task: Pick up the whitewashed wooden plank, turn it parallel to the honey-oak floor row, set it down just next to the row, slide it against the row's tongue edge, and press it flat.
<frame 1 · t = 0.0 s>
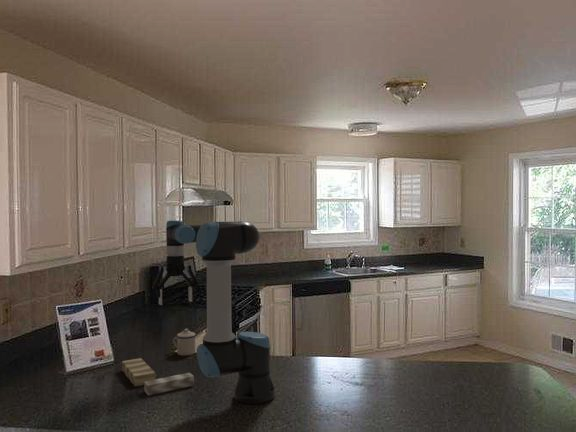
hand: (175, 302, 205), 28 cm above the worktop, tool pointing down, fingers open, 13 cm apart
plank: (169, 389, 179), on the worktop
teacup with lid: (183, 353, 225), on the worktop
oak floor row: (138, 376, 193), on the worktop
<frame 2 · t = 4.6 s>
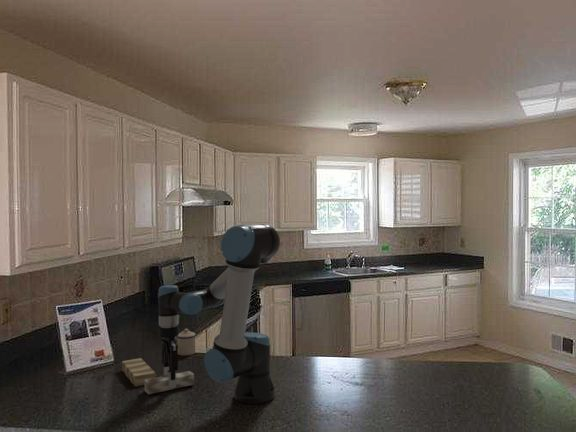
hand: (170, 385, 179), 1 cm above the worktop, tool pointing down, fingers closed on plank, 5 cm apart
plank: (169, 387, 179), on the worktop, touching gripper
everything else where it was.
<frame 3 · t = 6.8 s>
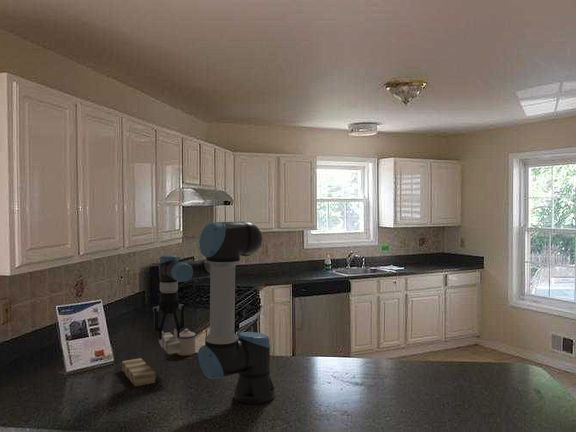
hand: (169, 345, 198), 11 cm above the worktop, tool pointing down, fingers closed on plank, 5 cm apart
plank: (169, 347, 197), point 11 cm above the worktop, touching gripper
everything else where it was.
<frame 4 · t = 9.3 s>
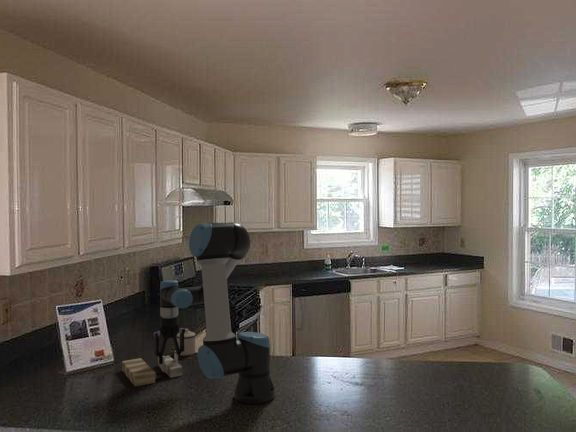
hand: (169, 369, 200), 0 cm above the worktop, tool pointing down, fingers open, 5 cm apart
plank: (169, 371, 200), on the worktop
everything else where it was.
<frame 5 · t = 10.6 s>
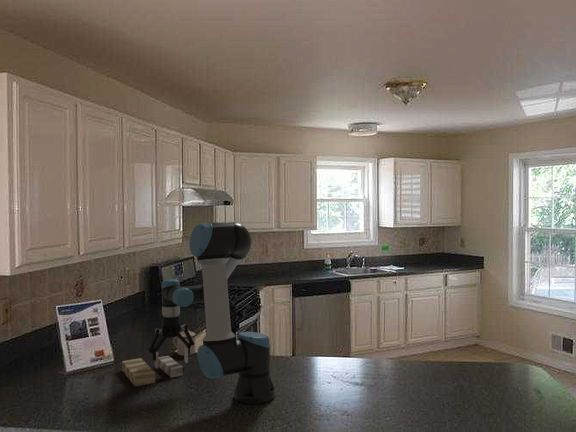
hand: (171, 365, 200), 2 cm above the worktop, tool pointing down, fingers open, 12 cm apart
nothing on the worktop moved.
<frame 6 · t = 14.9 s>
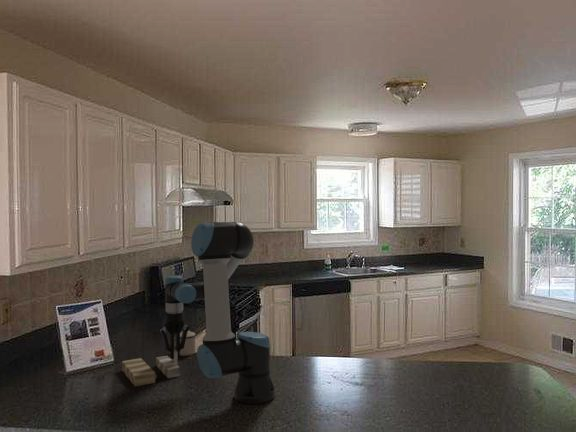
hand: (175, 365, 201), 1 cm above the worktop, tool pointing down, fingers closed
plank: (167, 371, 199), on the worktop, touching gripper
everything else where it was.
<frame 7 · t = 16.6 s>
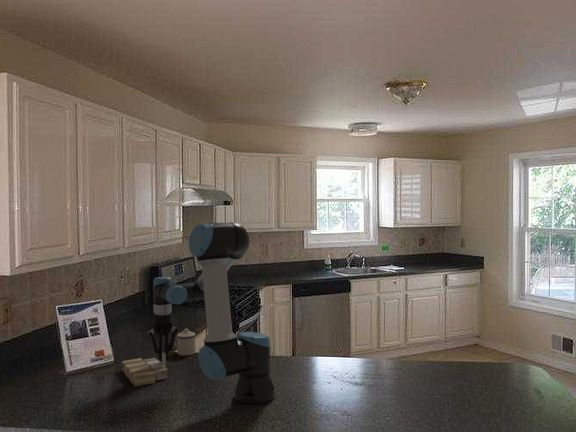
hand: (163, 368, 198), 1 cm above the worktop, tool pointing down, fingers closed
plank: (155, 373, 197), on the worktop, touching gripper
everything else where it was.
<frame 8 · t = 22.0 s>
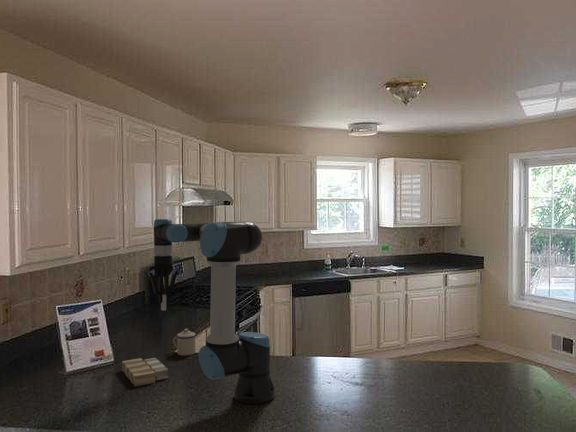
hand: (163, 309, 198), 26 cm above the worktop, tool pointing down, fingers closed
plank: (155, 373, 197), on the worktop
everything else where it was.
at the end: plank inside the target area (0.3 cm from its centre), on the worktop; plank tilted 0°; the gripper is holding nothing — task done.
